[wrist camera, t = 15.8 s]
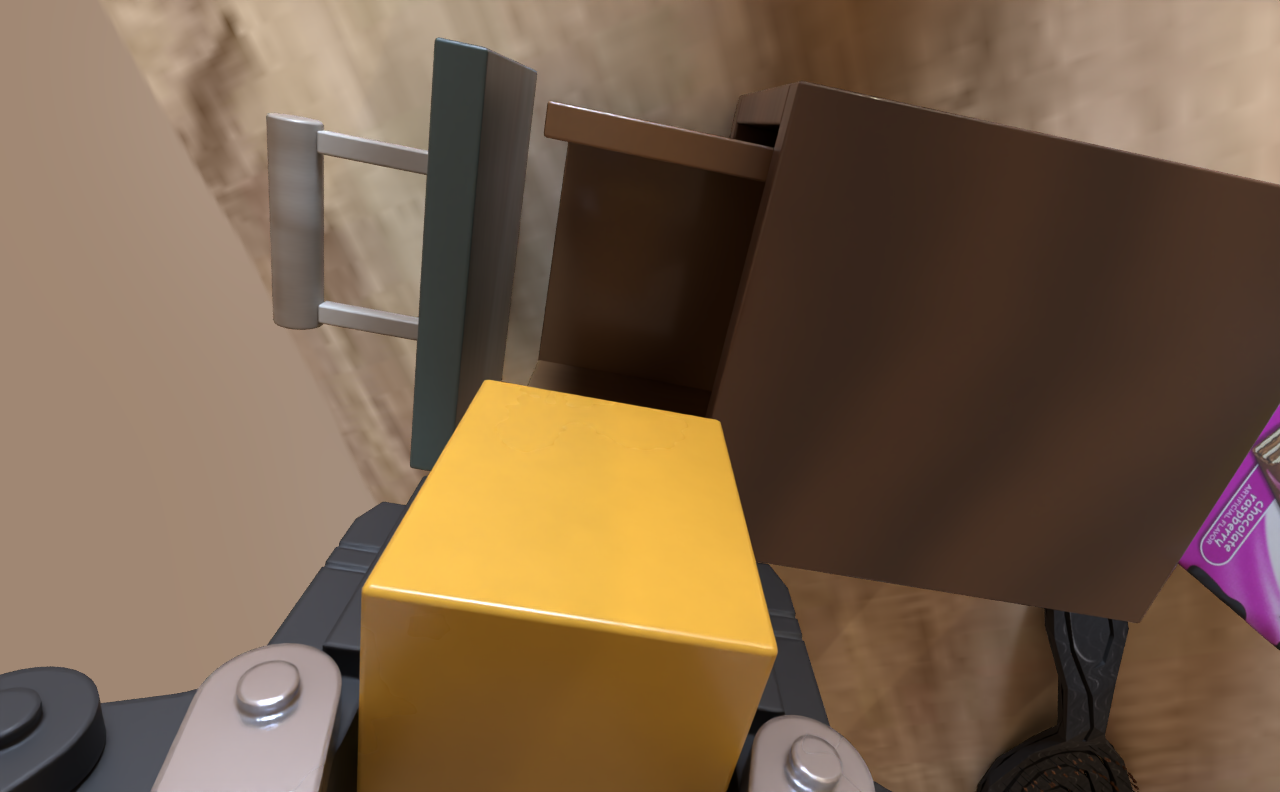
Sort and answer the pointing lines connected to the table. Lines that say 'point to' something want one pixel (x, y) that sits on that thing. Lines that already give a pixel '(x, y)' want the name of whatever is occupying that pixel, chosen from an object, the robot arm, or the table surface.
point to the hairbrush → (1072, 715)
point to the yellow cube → (565, 608)
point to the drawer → (582, 257)
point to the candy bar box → (1245, 539)
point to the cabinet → (991, 352)
